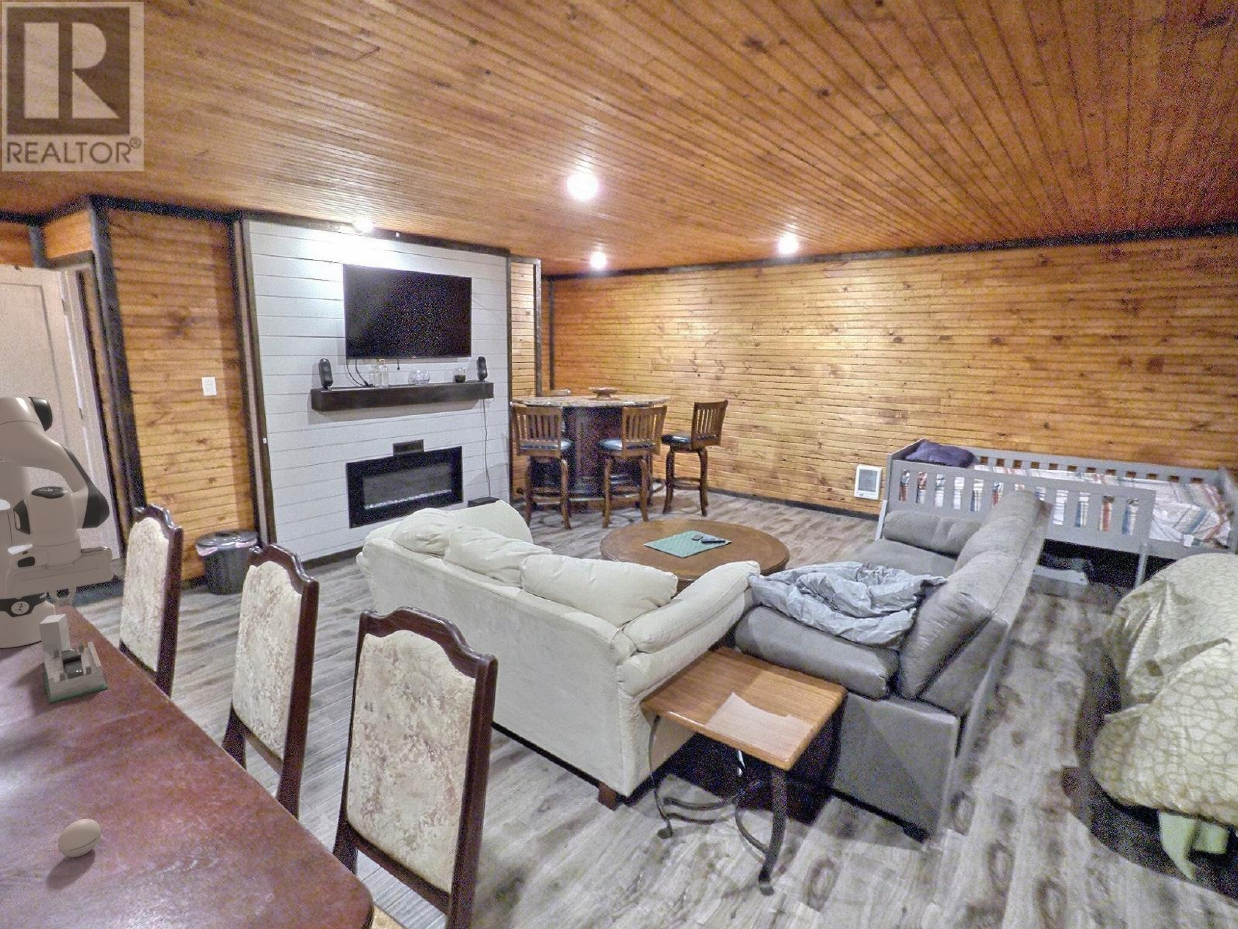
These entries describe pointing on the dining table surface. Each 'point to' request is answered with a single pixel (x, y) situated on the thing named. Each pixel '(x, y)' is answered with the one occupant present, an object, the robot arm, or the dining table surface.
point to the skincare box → (55, 634)
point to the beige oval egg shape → (79, 838)
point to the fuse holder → (75, 686)
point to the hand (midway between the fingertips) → (64, 605)
